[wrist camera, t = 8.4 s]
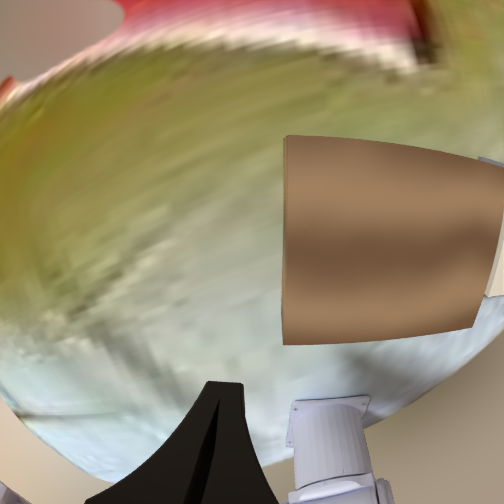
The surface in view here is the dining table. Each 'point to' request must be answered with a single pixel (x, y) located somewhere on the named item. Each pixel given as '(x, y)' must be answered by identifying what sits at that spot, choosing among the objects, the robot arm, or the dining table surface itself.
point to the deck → (384, 240)
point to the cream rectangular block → (497, 269)
